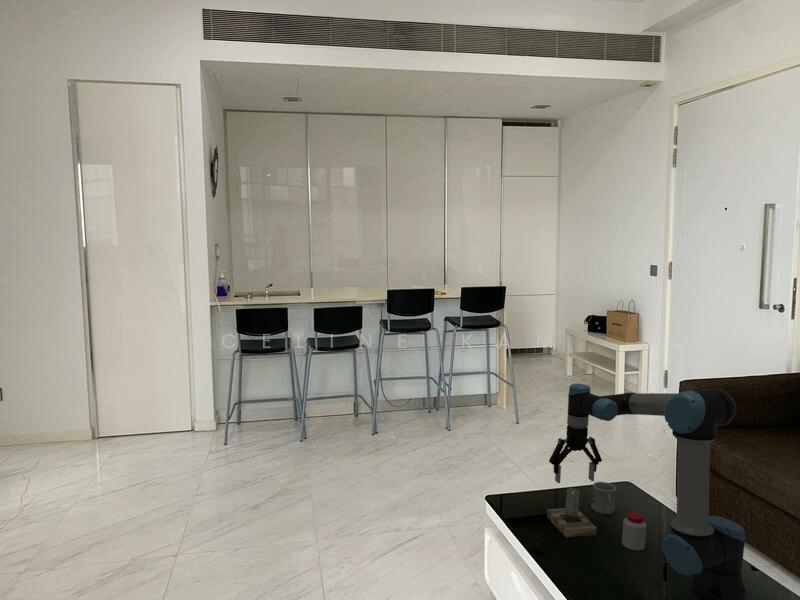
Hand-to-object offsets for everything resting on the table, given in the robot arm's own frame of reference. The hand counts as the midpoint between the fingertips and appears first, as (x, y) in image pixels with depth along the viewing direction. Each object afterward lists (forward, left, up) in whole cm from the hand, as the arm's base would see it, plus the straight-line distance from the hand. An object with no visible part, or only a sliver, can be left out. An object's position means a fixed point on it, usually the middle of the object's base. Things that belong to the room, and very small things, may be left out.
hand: (574, 481), depth 223 cm
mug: (+9, -19, -18) cm, 28 cm away
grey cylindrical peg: (0, 0, -18) cm, 18 cm away
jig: (0, 0, -18) cm, 18 cm away
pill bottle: (-16, -16, -18) cm, 29 cm away
